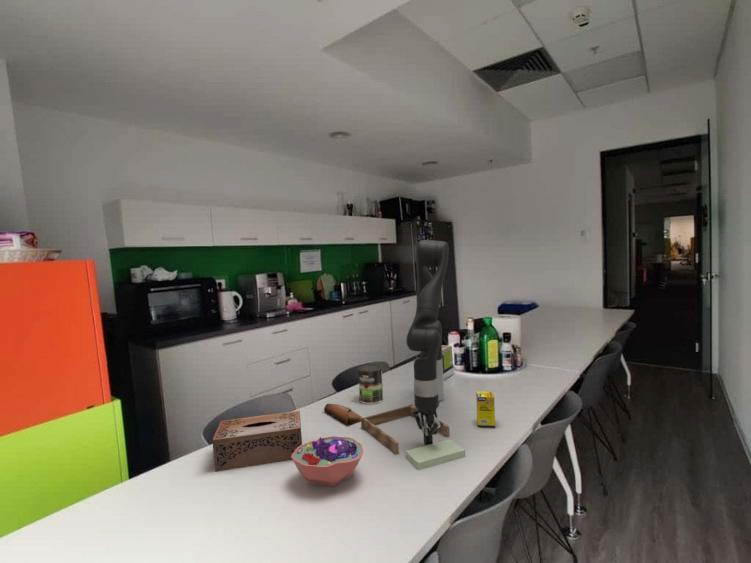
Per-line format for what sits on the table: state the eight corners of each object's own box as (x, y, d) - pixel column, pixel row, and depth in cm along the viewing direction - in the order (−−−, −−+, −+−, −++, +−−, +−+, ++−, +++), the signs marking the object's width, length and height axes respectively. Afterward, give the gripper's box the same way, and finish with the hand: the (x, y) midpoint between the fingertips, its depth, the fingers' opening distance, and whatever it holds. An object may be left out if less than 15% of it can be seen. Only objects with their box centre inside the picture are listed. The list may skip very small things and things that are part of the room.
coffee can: (378, 405, 163) (376, 372, 162) (355, 403, 167) (353, 370, 166) (387, 396, 172) (385, 365, 171) (365, 394, 176) (363, 363, 175)
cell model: (301, 464, 120) (298, 427, 119) (366, 462, 119) (364, 425, 118) (286, 498, 103) (283, 456, 102) (363, 496, 102) (361, 454, 101)
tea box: (436, 371, 204) (434, 343, 203) (454, 374, 198) (453, 345, 197) (421, 380, 192) (420, 350, 191) (440, 383, 186) (439, 352, 185)
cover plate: (406, 458, 121) (405, 450, 120) (450, 446, 127) (450, 439, 126) (418, 471, 113) (418, 463, 113) (465, 457, 119) (465, 449, 119)
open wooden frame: (361, 427, 142) (360, 418, 142) (412, 413, 153) (411, 404, 153) (394, 454, 122) (394, 443, 122) (450, 435, 133) (450, 425, 133)
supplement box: (495, 428, 137) (494, 397, 136) (477, 427, 138) (476, 396, 137) (494, 420, 143) (493, 391, 142) (476, 420, 144) (475, 390, 143)
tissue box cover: (215, 472, 118) (212, 440, 117) (223, 449, 132) (221, 420, 131) (302, 459, 123) (300, 428, 122) (301, 438, 137) (299, 410, 137)
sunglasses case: (366, 419, 149) (358, 407, 147) (354, 433, 146) (345, 421, 144) (341, 406, 164) (333, 395, 161) (329, 419, 160) (321, 407, 158)
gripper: (404, 388, 128) (407, 440, 129) (428, 400, 116) (431, 457, 118) (423, 383, 131) (425, 434, 133) (449, 395, 120) (451, 450, 121)
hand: (428, 445), depth 125 cm, fingers closed
